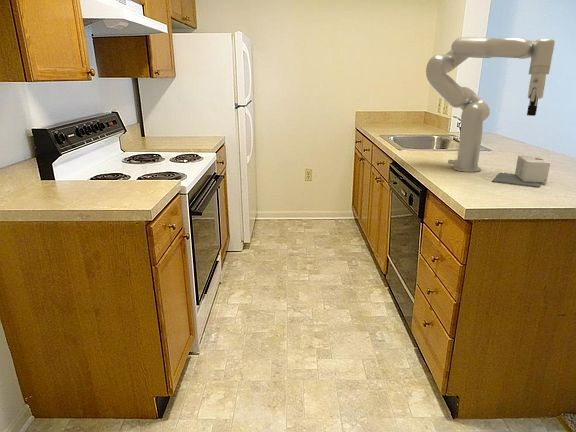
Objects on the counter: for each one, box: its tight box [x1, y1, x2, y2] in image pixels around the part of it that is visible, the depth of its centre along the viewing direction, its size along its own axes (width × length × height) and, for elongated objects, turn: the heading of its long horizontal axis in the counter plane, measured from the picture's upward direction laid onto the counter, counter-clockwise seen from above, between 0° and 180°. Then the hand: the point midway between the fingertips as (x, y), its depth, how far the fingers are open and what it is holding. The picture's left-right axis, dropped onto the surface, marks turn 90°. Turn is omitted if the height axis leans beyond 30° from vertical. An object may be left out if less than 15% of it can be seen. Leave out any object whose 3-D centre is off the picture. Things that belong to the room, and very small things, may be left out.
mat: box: [491, 172, 542, 188], centre depth 181 cm, size 18×19×1 cm
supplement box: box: [514, 155, 551, 184], centre depth 180 cm, size 9×9×15 cm
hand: (531, 115), depth 180 cm, fingers closed
